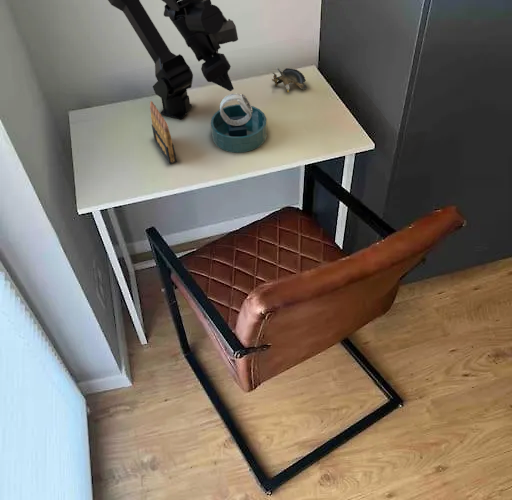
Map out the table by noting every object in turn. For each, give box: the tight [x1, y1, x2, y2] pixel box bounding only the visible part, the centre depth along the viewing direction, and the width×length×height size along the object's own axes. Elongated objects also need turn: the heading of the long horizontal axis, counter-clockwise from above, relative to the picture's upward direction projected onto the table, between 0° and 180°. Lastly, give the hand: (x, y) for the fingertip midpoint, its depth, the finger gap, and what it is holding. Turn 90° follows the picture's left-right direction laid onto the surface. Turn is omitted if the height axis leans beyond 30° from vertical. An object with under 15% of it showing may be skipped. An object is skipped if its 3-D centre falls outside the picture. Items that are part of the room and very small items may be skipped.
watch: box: [219, 93, 253, 137], centre depth 142 cm, size 6×8×11 cm
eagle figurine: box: [271, 66, 308, 93], centre depth 158 cm, size 8×7×9 cm
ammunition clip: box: [149, 100, 178, 165], centre depth 139 cm, size 11×2×12 cm, turn 27°
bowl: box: [210, 103, 268, 154], centre depth 145 cm, size 14×14×4 cm
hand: (228, 81), depth 141 cm, fingers open, 9 cm apart
